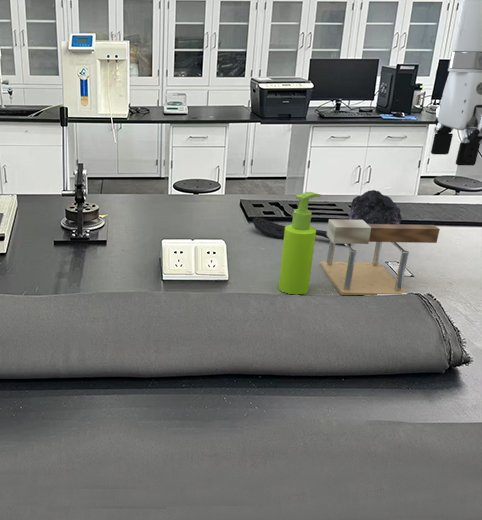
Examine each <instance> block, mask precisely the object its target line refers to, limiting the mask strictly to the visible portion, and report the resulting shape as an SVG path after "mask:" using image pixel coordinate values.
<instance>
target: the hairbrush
mask: <svg viewBox="0 0 482 520" xmlns="http://www.w3.org/2000/svg"><path fill="white" fill-rule="evenodd" d="M271 220H272V221H271ZM271 220H270V218H268V219H265V215H263V216H262V217H260V214H258V215H257V216H254V217H253V219H252V224H253V225H254V228H255V229H257V230H258V231H259V232H261V233H262V234H264V236H265V235H266V236H268V237H272V238H275V239H277V240H284V232H285V227H286V226H287V225H291V224H287V222H286V224H285V223H283V224H280V223H279V221H276V222H274V219H273V218H272V219H271ZM316 236H317V237H323V238H325V239H327V240H330V239H329V237H328V236H327V230H322V229H321V230H320V229H316ZM342 245H344V244H342ZM351 245H352V244H349V246H350V247H351ZM344 246H345V245H344Z"/></svg>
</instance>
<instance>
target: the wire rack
mask: <svg viewBox="0 0 482 520" xmlns="http://www.w3.org/2000/svg"><path fill="white" fill-rule="evenodd" d="M390 243H391V244H392V245H393V246H394V247H396V248H397V249H398V250H399V251H400V252H401V255H400V260H399V264H398V270H397V273H396V279H395V278H394V276H393V275H391V273H389V271H388V270H387V269H386V268H385V267H384V266H383V265H382V264H381V262H379V261H380V257H381V252H382V246H383V242H375V246H374V252H373V257H372V262H371V261H370V262H369V261H356V257H357V250H356V249H353V248H352V246H351V245H350V246H349V244H344V246H345V247H346V248H347V249H348V251H349V253H348V259H347V261H334V255H335V249H336V243H333V242H332V241H331V240H330V239H329V244H328V250H327V251H328V252H327V259H326V261H325V260H324V261H320V264H319V265H320V267H321V268H322V269H323V271H324V273H325V275H327V277H328V278H329V280H330V282H331V283H332V284H333V286H334V287H335V289H336V290H337V291H338V293H339V295H340V294H341V295H377V294H402V293H408V292H407V290H406V289H404V287H403V282H404V278H405V272H406V268H407V265H408V264H407V263H408V258H409V254H410V252H409V251H408V250H405V248H403V247H401V245H400V244H398V242H390ZM341 295H340V296H341Z"/></svg>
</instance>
